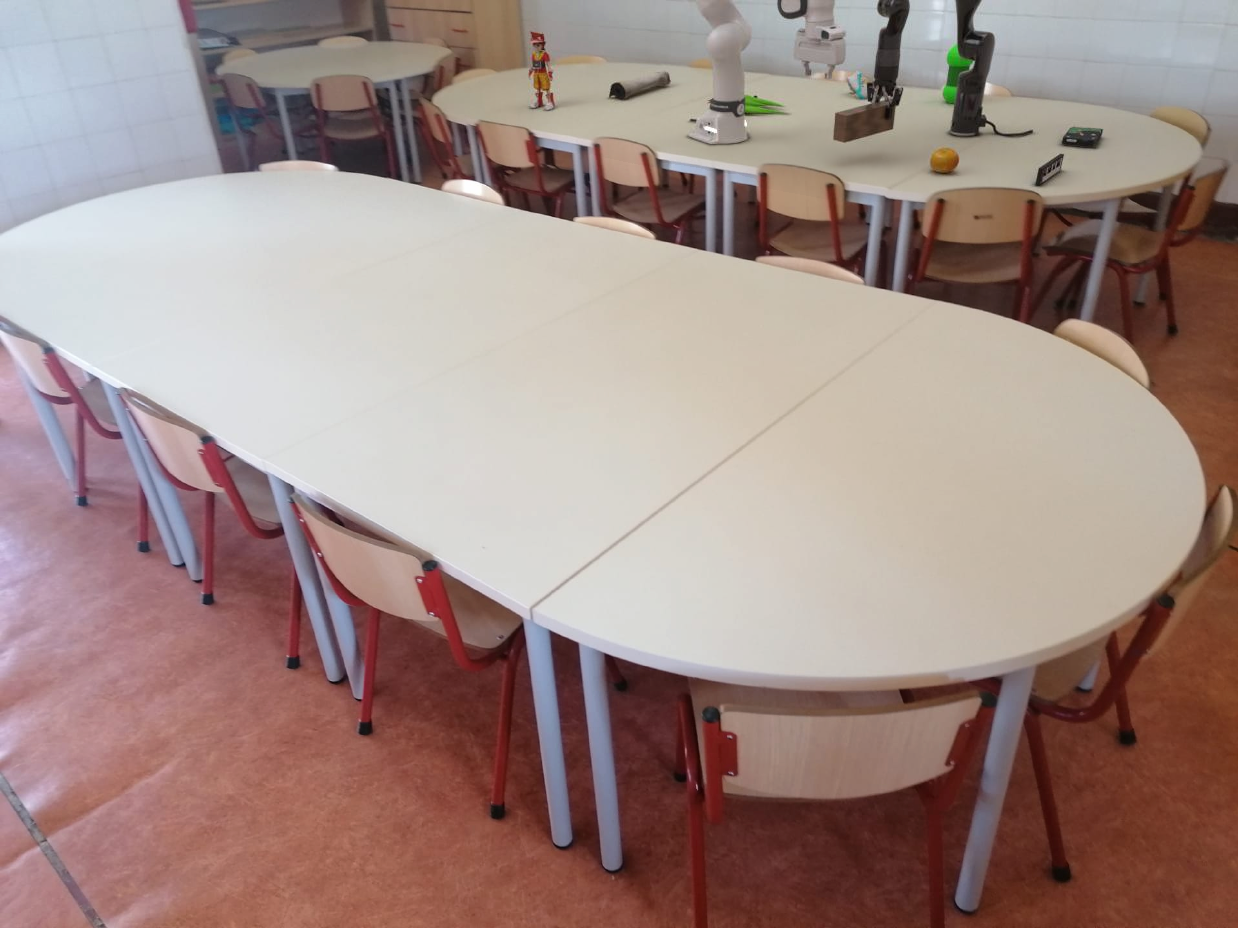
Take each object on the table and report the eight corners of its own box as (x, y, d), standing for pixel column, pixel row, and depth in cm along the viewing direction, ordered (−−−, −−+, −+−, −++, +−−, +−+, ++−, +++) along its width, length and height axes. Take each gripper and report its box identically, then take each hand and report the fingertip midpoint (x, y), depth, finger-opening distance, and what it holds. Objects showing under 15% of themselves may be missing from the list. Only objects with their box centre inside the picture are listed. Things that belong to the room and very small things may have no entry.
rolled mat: (651, 76, 408) (662, 61, 399) (662, 93, 408) (674, 79, 400) (605, 92, 391) (616, 77, 383) (617, 110, 391) (628, 95, 383)
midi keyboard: (1039, 185, 269) (1043, 168, 266) (1035, 184, 270) (1038, 168, 267) (1060, 170, 279) (1064, 154, 277) (1056, 169, 280) (1060, 153, 277)
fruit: (924, 163, 281) (941, 140, 278) (925, 165, 289) (941, 143, 286) (946, 178, 280) (963, 155, 277) (947, 180, 288) (963, 158, 285)
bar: (881, 126, 302) (884, 100, 297) (893, 129, 299) (896, 102, 294) (833, 139, 293) (835, 112, 288) (844, 143, 289) (846, 115, 284)
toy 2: (703, 112, 356) (773, 124, 344) (705, 98, 354) (775, 110, 341) (734, 102, 377) (800, 113, 364) (735, 89, 374) (802, 100, 361)
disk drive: (1094, 148, 296) (1101, 136, 306) (1096, 140, 295) (1103, 128, 305) (1060, 145, 301) (1068, 133, 311) (1062, 137, 299) (1070, 125, 309)
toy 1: (525, 109, 381) (517, 32, 364) (534, 104, 388) (527, 28, 371) (550, 110, 377) (543, 32, 360) (559, 105, 384) (553, 28, 367)
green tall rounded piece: (973, 101, 354) (984, 32, 339) (955, 106, 349) (966, 36, 335) (952, 97, 361) (962, 29, 346) (934, 102, 356) (944, 33, 342)
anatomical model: (842, 70, 373) (865, 64, 372) (844, 96, 379) (868, 89, 378) (852, 78, 360) (877, 71, 360) (855, 104, 366) (879, 98, 366)
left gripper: (789, 29, 289) (788, 75, 296) (835, 34, 274) (832, 82, 282) (804, 26, 291) (802, 72, 299) (850, 31, 276) (847, 79, 284)
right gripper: (862, 61, 290) (857, 116, 300) (896, 68, 280) (890, 124, 290) (878, 58, 294) (873, 112, 303) (912, 64, 284) (906, 119, 293)
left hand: (817, 77), depth 290 cm, fingers open, 8 cm apart
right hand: (881, 117), depth 297 cm, fingers closed on bar, 5 cm apart
